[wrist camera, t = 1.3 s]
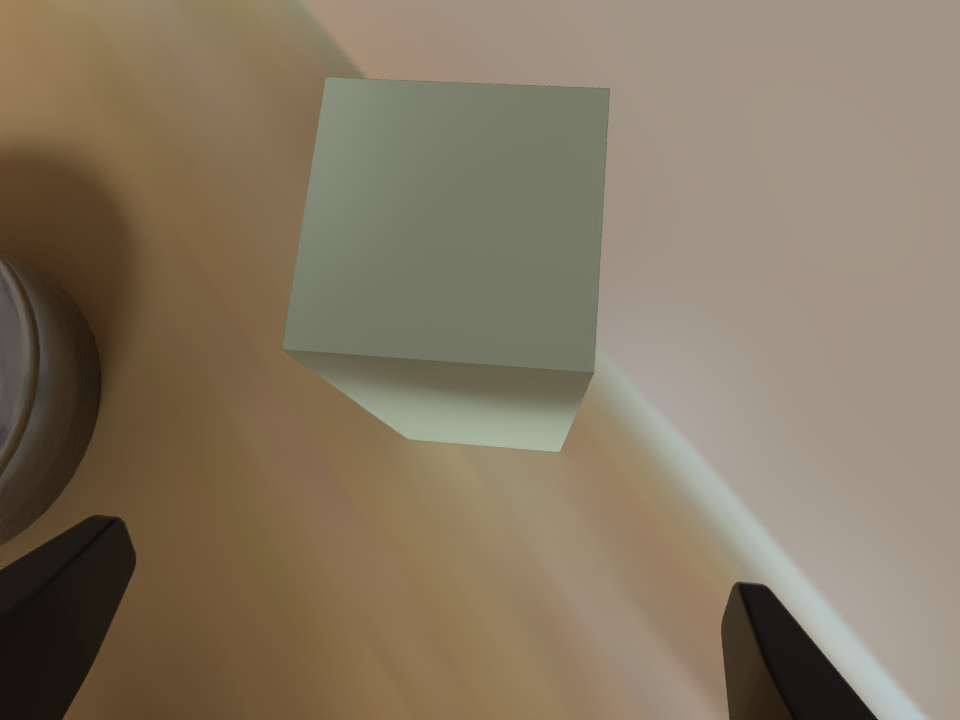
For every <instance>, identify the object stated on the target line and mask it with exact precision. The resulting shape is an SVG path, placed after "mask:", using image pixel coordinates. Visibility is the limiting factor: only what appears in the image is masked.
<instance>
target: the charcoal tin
mask: <svg viewBox="0 0 960 720" xmlns="http://www.w3.org/2000/svg"><path fill="white" fill-rule="evenodd" d="M100 389H101V373H100V364H99V355H98V351H97V348H96V344H95V340H94V336H93V334H92V332H91V329H90V327H89V325H88V322H87V320H86V318H85V317H84V315H83V313H82V312H81V310H80V309H79V307H78V305H77V304H76V303H75V302H74V301H73V299H72V298H71V297H70V296H69V295H68V293H67V292H66V291H65V290H64V289H62V288H61V287H60V286H59V285H58V284H57V283H55V282H54V281H53V280H52V279H50V278H48V277H47V276H45V275H44V274H42V273H40V272H39V271H37V270H35V269H33V268H31V267H29V266H27V265H25V264H24V263H22V262H20V261H18V260H16V259H14V258H12V257H10V256H8V255H6V254H4V253H2V252H0V545H2V544H4V543H6V542H8V541H9V540H11V539H12V538H14V537H15V536H16V535H18V534H19V533H21V532H22V531H23V530H25V529H26V528H27V527H29V526H30V525H31V524H32V523H33V522H34V521H35V520H36V519H37V518H39V517H40V516H41V515H42V514H43V513H44V512H45V511H46V510H47V509H48V508H49V506H50V505H51V504H52V503H53V502H54V501H55V500H56V499H57V497H58V496H59V495H60V494H61V492H62V491H63V489H64V488H65V487H66V485H67V484H68V482H69V481H70V480H71V478H72V477H73V475H74V473H75V471H76V469H77V468H78V466H79V464H80V462H81V460H82V458H83V457H84V454H85V452H86V449H87V447H88V444H89V442H90V439H91V437H92V433H93V430H94V426H95V422H96V419H97V415H98V408H99V401H100Z"/></svg>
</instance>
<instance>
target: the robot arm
mask: <svg viewBox="0 0 960 720" xmlns="http://www.w3.org/2000/svg"><path fill="white" fill-rule="evenodd" d="M135 565H136V553H135V550H134V547H133V544H132V542H131V539H130V536H129V533H128V530H127V527H126V524H125V522H124V521H123V520H122V519H121V518H119V517H113V516H104V515H94V516H91V517H89V518H87V519H85V520H83V521H82V522H80V523H78V524H77V525H75V526H73V527H72V528H70V529H68V530H67V531H65V532H63V533H62V534H60V535H58V536H57V537H55V538H53V539H52V540H50V541H48V542H47V543H45V544H43V545H41V546H40V547H38V548H36V549H35V550H33V551H31V552H30V553H28V554H26V555H25V556H23V557H21V558H20V559H18V560H16V561H15V562H13V563H11V564H10V565H8V566H6V567H5V568H3V569H1V570H0V720H62V719H63V717H64V715H65V714H66V712H67V710H68V708H69V707H70V705H71V703H72V701H73V699H74V698H75V696H76V694H77V692H78V690H79V689H80V687H81V685H82V683H83V682H84V680H85V678H86V676H87V674H88V672H89V670H90V668H91V667H92V665H93V662H94V660H95V658H96V656H97V654H98V652H99V650H100V648H101V645H102V643H103V641H104V638H105V636H106V634H107V632H108V629H109V627H110V625H111V622H112V620H113V618H114V615H115V613H116V611H117V609H118V606H119V604H120V602H121V599H122V597H123V595H124V593H125V590H126V588H127V586H128V583H129V581H130V579H131V577H132V574H133V572H134V569H135ZM721 636H722V647H723V657H724V668H725V678H726V688H727V699H728V709H729V719H730V720H878V719H877V718H876V717H875V715H874V714H873V713H872V712H871V711H870V709H869V708H868V707H867V706H866V705H865V703H864V702H863V701H862V700H861V699H860V697H859V696H858V695H857V694H856V692H855V691H854V690H853V689H852V688H851V686H850V685H849V684H848V683H847V682H846V680H845V679H844V678H843V677H842V676H841V674H840V673H839V672H838V671H837V669H836V668H835V667H834V666H833V665H832V663H831V662H830V661H829V660H828V659H827V657H826V656H825V655H824V654H823V653H822V651H821V650H820V649H819V648H818V646H817V645H816V644H815V643H814V642H813V640H812V639H811V638H810V637H809V636H808V634H807V633H806V632H805V631H804V630H803V628H802V627H801V626H800V625H799V623H798V622H797V621H796V620H795V619H794V617H793V616H792V615H791V614H790V613H789V611H788V610H787V609H786V608H785V607H784V605H783V604H782V603H781V602H780V600H779V599H778V598H777V597H776V596H775V594H774V593H773V592H772V591H771V590H770V589H769V588H768V587H767V586H766V585H764V584H759V583H749V582H737V583H735V584H734V585H733V587H732V590H731V593H730V596H729V599H728V603H727V606H726V609H725V612H724V615H723V619H722V626H721Z"/></svg>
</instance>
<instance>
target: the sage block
mask: <svg viewBox="0 0 960 720" xmlns="http://www.w3.org/2000/svg"><path fill="white" fill-rule="evenodd" d="M609 94H610V89H608V88H584V87H558V86H557V87H556V86H533V85H507V84H481V83H455V82H431V81H405V80H380V79H379V80H377V79H354V78H329V77H326V79H325V86H324V92H323V98H322V104H321V110H320V116H319V123H318V129H317V135H316V141H315V147H314V154H313V160H312V166H311V172H310V178H309V185H308V191H307V197H306V203H305V209H304V215H303V222H302V228H301V234H300V240H299V246H298V253H297V259H296V265H295V271H294V277H293V284H292V290H291V296H290V302H289V308H288V314H287V321H286V327H285V333H284V339H283V345H282V350H284V351H285V352H287V353H288V354H289V355H291V356H292V357H294V358H295V359H296V360H298V361H299V362H301V363H302V364H303V365H305V366H306V367H308V368H309V369H310V370H312V371H313V372H315V373H316V374H317V375H319V376H320V377H322V378H323V379H324V380H326V381H327V382H329V383H330V384H331V385H333V386H334V387H335V388H337V389H338V390H340V391H341V392H342V393H344V394H345V395H347V396H348V397H349V398H351V399H352V400H354V401H355V402H356V403H358V404H359V405H361V406H362V407H363V408H365V409H366V410H368V411H369V412H370V413H372V414H373V415H375V416H376V417H377V418H379V419H380V420H382V421H383V422H384V423H386V424H387V425H389V426H390V427H391V428H393V429H394V430H396V431H397V432H398V433H400V434H401V435H403V436H404V437H405V438H407V439H412V440H424V441H436V442H448V443H460V444H471V445H483V446H495V447H507V448H518V449H530V450H542V451H554V452H560V450H561V448H562V445H563V443H564V441H565V438H566V436H567V434H568V431H569V429H570V427H571V425H572V422H573V420H574V418H575V415H576V413H577V411H578V408H579V406H580V404H581V401H582V399H583V397H584V394H585V392H586V390H587V387H588V385H589V383H590V380H591V378H592V376H593V373H594V363H595V345H596V326H597V308H598V290H599V273H600V255H601V236H602V218H603V201H604V200H603V199H604V183H605V164H606V147H607V130H608V112H609Z"/></svg>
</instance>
